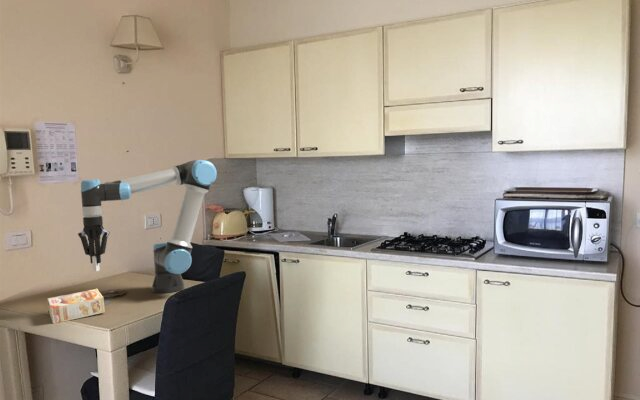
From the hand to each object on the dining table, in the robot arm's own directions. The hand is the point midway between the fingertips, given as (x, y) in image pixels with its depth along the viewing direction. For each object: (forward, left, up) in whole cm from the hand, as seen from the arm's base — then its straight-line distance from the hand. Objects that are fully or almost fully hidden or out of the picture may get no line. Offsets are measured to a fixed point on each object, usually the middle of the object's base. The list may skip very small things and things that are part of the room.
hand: (96, 270), depth 221 cm
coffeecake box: (-3, +2, -12) cm, 13 cm away
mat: (+10, -3, -17) cm, 19 cm away
